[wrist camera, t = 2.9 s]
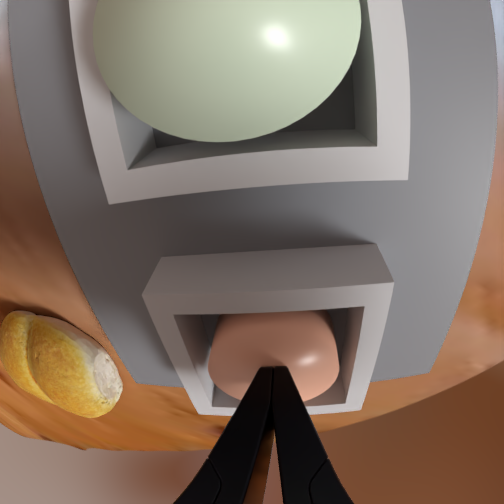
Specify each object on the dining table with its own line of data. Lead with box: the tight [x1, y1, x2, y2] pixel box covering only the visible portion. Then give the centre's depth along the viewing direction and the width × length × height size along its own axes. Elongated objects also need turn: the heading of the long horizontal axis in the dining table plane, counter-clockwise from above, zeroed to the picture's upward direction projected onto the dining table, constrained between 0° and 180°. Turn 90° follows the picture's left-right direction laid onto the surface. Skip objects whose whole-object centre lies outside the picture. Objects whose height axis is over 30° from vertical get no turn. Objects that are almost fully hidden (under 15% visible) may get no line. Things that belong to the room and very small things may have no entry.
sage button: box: [93, 0, 361, 142], centre depth 4 cm, size 4×4×2 cm
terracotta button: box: [208, 309, 339, 402], centre depth 10 cm, size 4×4×2 cm
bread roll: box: [0, 311, 123, 418], centre depth 15 cm, size 8×9×4 cm
